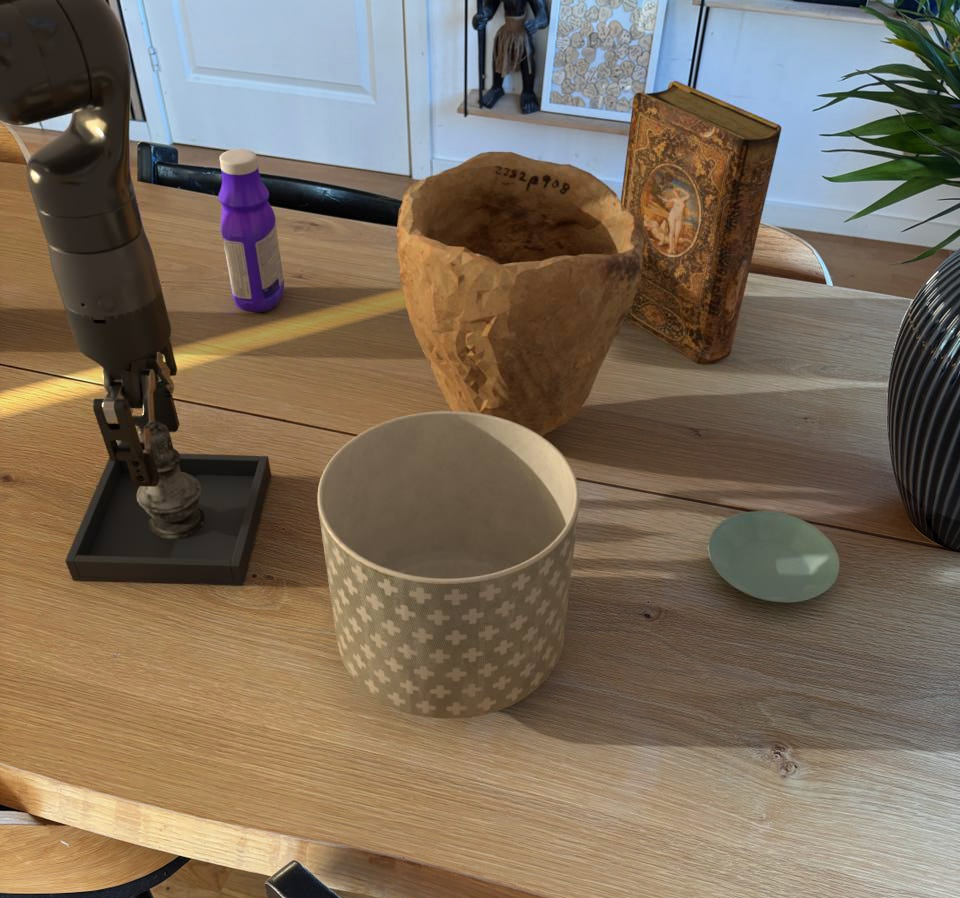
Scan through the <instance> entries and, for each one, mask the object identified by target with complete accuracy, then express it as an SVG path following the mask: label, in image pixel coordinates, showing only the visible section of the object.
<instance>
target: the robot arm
mask: <svg viewBox="0 0 960 898" xmlns="http://www.w3.org/2000/svg"><path fill="white" fill-rule="evenodd" d="M111 7H112V6H111V5H109V3H108V2H107V1H106V0H0V121H1V122H3V123H4V124H8V125H11V126H15V127H16V126H17V127H21V126H29V125H34V124H39V123H41V122H45V121H49V120H52V119H55V118H59V117H63V116H67V115H70V114H71V118H70V120H69V121H70V122H69V124H68V126H67V127H66V129H64V131H63V132H62V133H60V134H59V135H58V136H57V137H55V138H54V139H52V140H51V141H49V142H48V143H46V144H44V145H43V146H41V147H40V148H38V149H37V150H36V151H35V152H34V153H33V154H32V155H31V156H30V157H29V158H28V161H27V164H26V168H25V171H26V172H25V173H26V174H25V175H26V180H27V184H28V187H29V191H30V194H31V197H32V201H33V203H34V206H35V209H36V213H37V217H38V219H39V222H40V225H41V229H42V231H43V232H42V233H43V234H44V237H45V241H46V245H47V249H48V255H49V262H50V267H51V271H52V274H53V277H54V280H55V283H56V286H57V289H58V293H59V295H60V299H61V302H62V305H63V309H64V311H65V314H66V318H67V320H68V324H69V327H70V330H71V333H72V336H73V339H74V342H75V345H76V348H77V349H78V351H79V352H80V353H81V355H83V356H84V357H86V358H88V359H90V360H92V361H93V362H95V363H96V364H98V365H99V366H100V367H101V368H102V385H103V388H104V390H105V391H106V396H105V397H104V398H94V399H93V400H92V410H93V413H94V416H95V419H96V422H97V425H98V428H99V430H100V434H101V437H102V440H103V442H104V445H105V448H106V451H107V454H108V457H110V460H111V461H126V462H127V465H128V469H129V472H130V475H131V478H132V482H133V483H134V484H135V485H136V486H148V487H155V486H157V485H158V482H159V480H160V477H159V473H158V470H157V466H156V463H155V459H154V456H153V452H152V449H151V445H150V432H149V427H150V426H151V425H152V424H153V423H154V421H156V422H160V423H162V424H164V425H165V426H166V427H167V428H168V430H169V433H176V432H178V430H179V427H180V420H179V417H178V412H177V408H176V404H175V401H174V396H173V393H174V390H175V384H174V381H173V379H172V378H171V377H176V376H177V372H178V366H177V363H176V358H175V355H174V350H173V345H172V341H171V337H172V327H171V323H170V322H171V321H170V318H169V314H168V310H167V306H166V302H165V297H164V292H163V288H162V284H161V281H160V276H159V272H158V267H157V264H156V260H155V256H154V253H153V249H152V247H151V244H150V242H149V239H148V237H147V234H146V231H145V228H144V225H143V224H144V223H143V221H142V217H141V213H140V208H139V204H138V200H137V197H136V192H135V188H134V183H133V180H132V175H131V161H130V157H131V155H130V154H131V153H130V152H131V151H130V149H131V148H130V146H131V145H130V141H131V140H130V122H131V121H130V119H131V118H130V117H131V98H132V64H131V56H130V50H129V45H128V41H127V38H126V35H125V32H124V29H123V27H122V24H121V22H120V21H119V19H118V16H117V15H116V13H115V11H114V10H113V9H112V8H111ZM134 409H135V410H136V409H138V410H139V409H142V414H141V415H133V413H134ZM138 428H139V436H140V439H139V436H138V433H137V430H138Z"/></svg>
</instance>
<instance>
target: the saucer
mask: <svg viewBox="0 0 960 898" xmlns="http://www.w3.org/2000/svg"><path fill="white" fill-rule="evenodd" d="M707 551H708V557H709V559H710V562H711V564H712V566H713V568H714V569H715V571H716V572H717V573H718V575H720V577H721V578H722V579H723V580H724V581H725V582H727V583H728V584H729V585H731V586H732V587H734V589H736V590H738V591H740V592H741V593H743V594H746V595H747V596H750V597H752V598H755V599H758V600H762V601H765V602H770V603H771V602H772V603H798V602H804V601H808V600H811V599H814V598H817V597H819V596H820V595H822V594H824V593H826V592H827V591H828V590H829V589H830V588H831V587H832V586H833V585H834V584H835V582H836V581H837V579H838V576H839V573H840V558H839V554H838V552H837V550H836V548H835V546H834V544H833V543H832V541H831V540H830V539H829V538H828V537H827V536H826V535H825V534H824V533H823V532H822V531H821V530H819V528H817V527H815V526H814V525H813V524H811V523H809V522H807V521H805V520H803V519H802V518H799V517H798V516H794V515H791V514H786V513H783V512H778V511H770V510H756V511H747V512H741V513H738V514H735V515H732V516H730V517H728V518H726V519H724V520H723V521H721V522H720V523H719V524H718V525H717V526H716V527H715V528H714V529H713V531H712V533H711V534H710V537H709V539H708V546H707Z"/></svg>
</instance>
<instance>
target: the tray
mask: <svg viewBox="0 0 960 898" xmlns="http://www.w3.org/2000/svg"><path fill="white" fill-rule="evenodd" d="M179 454H180V462H179V463H178V464H179V467H180V471H181V472H183V473H187V474H189V475H192V476H193V477H195V478H196V479H197V480H198V481H199V483H200V485H201V493H200V496H199V502H198V506H199V507H201V508H202V510H203V511H204V515H205V520H204V523H203V525H202V527H201V528H200V529H199V530H198V531H197V532H195V533H193V534H192V535H189V536H187V537H184V538H179V539H165V538H161V537H158V536H156V535H155V534H153V533H152V532H151V530H150V528H149V524H148V521H149V518H150V515H149V514H148V513H147V512H146V511H145V509H144V508H143V507H141V506H140V504H139V503H138V501H137V492H138V489H139V488H140V486H136V485H135V484H134V483H133V482H132V478H131V475H130V472H129V469H128V465H127V462H126V461H111V460H110V457H109V456H108V457H109V458H108V460H107V462H106V464H105V467H104V469H103V471H102V474H101V476H100V477H99V480H98V483H97V485H96V487H95V490H94V492H93V495H92V497H91V498H90V502H89V504H88V506H87V508H86V511H85V513H84V515H83V518H82V521H81V523H80V524H79V527H78V529H77V532H76V535H75V536H74V539H73V541H72V543H71V546H70V548H69V550H68V552H67V555H66V557H65V560H64V562H65V564H66V568H67V569H68V572H69V574H70V576H71V579H72V581H79V582H81V581H84V582H85V581H86V582H114V583H115V582H117V583H118V582H119V583H147V584H149V583H150V584H151V583H152V584H153V583H154V584H183V585H184V584H186V585H188V584H189V585H221V586H244V585H245V581H246V578H247V574H248V569H249V565H250V561H251V559H252V558H251V557H252V553H253V549H254V547H255V546H254V545H255V542H256V538H257V534H258V530H259V527H260V526H259V525H260V522H261V518H262V514H263V511H264V507H265V502H266V499H267V495H268V492H269V491H268V490H269V487H270V483H271V480H272V471H271V466H270V461H269V460H270V459H269V456H268V455H247V454H246V455H245V454H243V455H242V454H213V453H212V454H211V453H210V454H205V453H179Z"/></svg>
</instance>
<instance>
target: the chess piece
mask: <svg viewBox="0 0 960 898" xmlns="http://www.w3.org/2000/svg"><path fill="white" fill-rule="evenodd" d="M136 430H137V433H138V436H139V428H138V427H137V429H136ZM149 432H150V445H151V449H152V452H153V456H154V459H155V463H156V466H157V470H158V473H159V477H160V480H159V482H158V485H157V486H155V487H148V486H140V488H139V489H138V492H137V501H138V503H139V504H140V506H141V507H143V508H144V509H145V511H146V512H147V513H148V514H149V515H150V518H149V521H148V524H149V528H150V530H151V532H152V533H153V534H155V535H156V536H158V537H161V538H165V539H179V538H184V537H187V536H189V535H192V534H193V533H195V532H197V531H198V530H199V529H200V528H201V527H202V525H203V523H204V520H205V515H204V511H203V510H202V508H201V507H199V506H198V502H199V496H200V493H201V485H200V483H199V481H198V480H197V479H196V478H195V477H193V476H192V475H189V474H187V473H183V472H181V471H180V467H179V464H178V463H179V462H180V454H181V453H180V452H179V451H178V450H176V448H174V445H173V440H172V437H171V432H169V430H168V428H167V427H166V426H165V425H164V424H162V423H160V422H156V421H154V423H153V424H152V425H151V426H150V427H149ZM139 439H140V436H139Z"/></svg>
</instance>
